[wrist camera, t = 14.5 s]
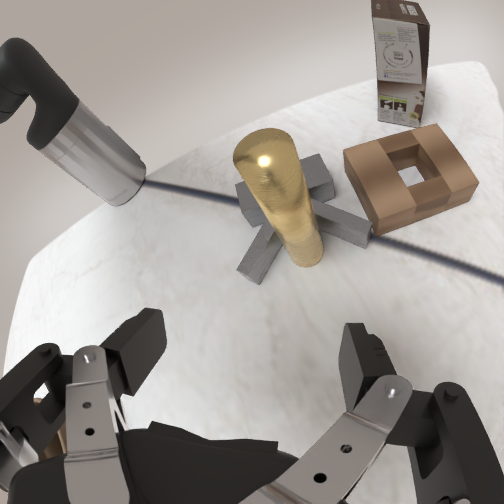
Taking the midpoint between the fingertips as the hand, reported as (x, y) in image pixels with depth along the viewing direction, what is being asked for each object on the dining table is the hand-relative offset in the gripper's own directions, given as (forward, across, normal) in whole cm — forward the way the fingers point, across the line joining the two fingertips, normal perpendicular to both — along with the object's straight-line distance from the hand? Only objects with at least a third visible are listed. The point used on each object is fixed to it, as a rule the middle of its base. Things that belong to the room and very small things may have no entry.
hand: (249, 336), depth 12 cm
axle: (+19, -3, +1) cm, 19 cm away
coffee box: (+29, -18, -18) cm, 39 cm away
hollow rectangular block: (+21, -15, -7) cm, 27 cm away
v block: (+21, -2, -1) cm, 21 cm away
